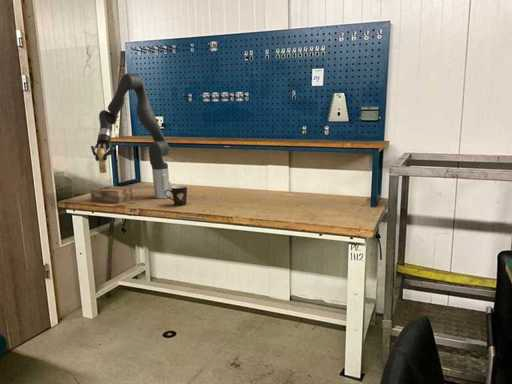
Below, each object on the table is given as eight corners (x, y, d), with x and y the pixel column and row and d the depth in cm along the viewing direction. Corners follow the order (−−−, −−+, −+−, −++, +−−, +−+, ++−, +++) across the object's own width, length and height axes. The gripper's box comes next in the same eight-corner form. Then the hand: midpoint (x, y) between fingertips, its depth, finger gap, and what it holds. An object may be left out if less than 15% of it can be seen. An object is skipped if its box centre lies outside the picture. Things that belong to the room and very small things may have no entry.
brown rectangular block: (105, 197, 252) (104, 185, 251) (132, 198, 245) (131, 187, 244) (91, 201, 241) (89, 189, 240) (118, 203, 234) (117, 191, 232)
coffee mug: (190, 202, 229) (189, 185, 227) (185, 206, 221) (184, 188, 219) (170, 202, 231) (169, 185, 229) (164, 206, 223) (163, 188, 221)
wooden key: (105, 171, 244) (103, 148, 241) (106, 172, 241) (104, 148, 238) (99, 172, 242) (96, 148, 239) (100, 173, 239) (97, 149, 236)
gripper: (90, 133, 244) (86, 156, 235) (114, 132, 245) (111, 155, 235) (94, 142, 250) (90, 164, 241) (118, 141, 251) (114, 163, 242)
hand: (100, 160), depth 238 cm, fingers closed on wooden key, 3 cm apart
